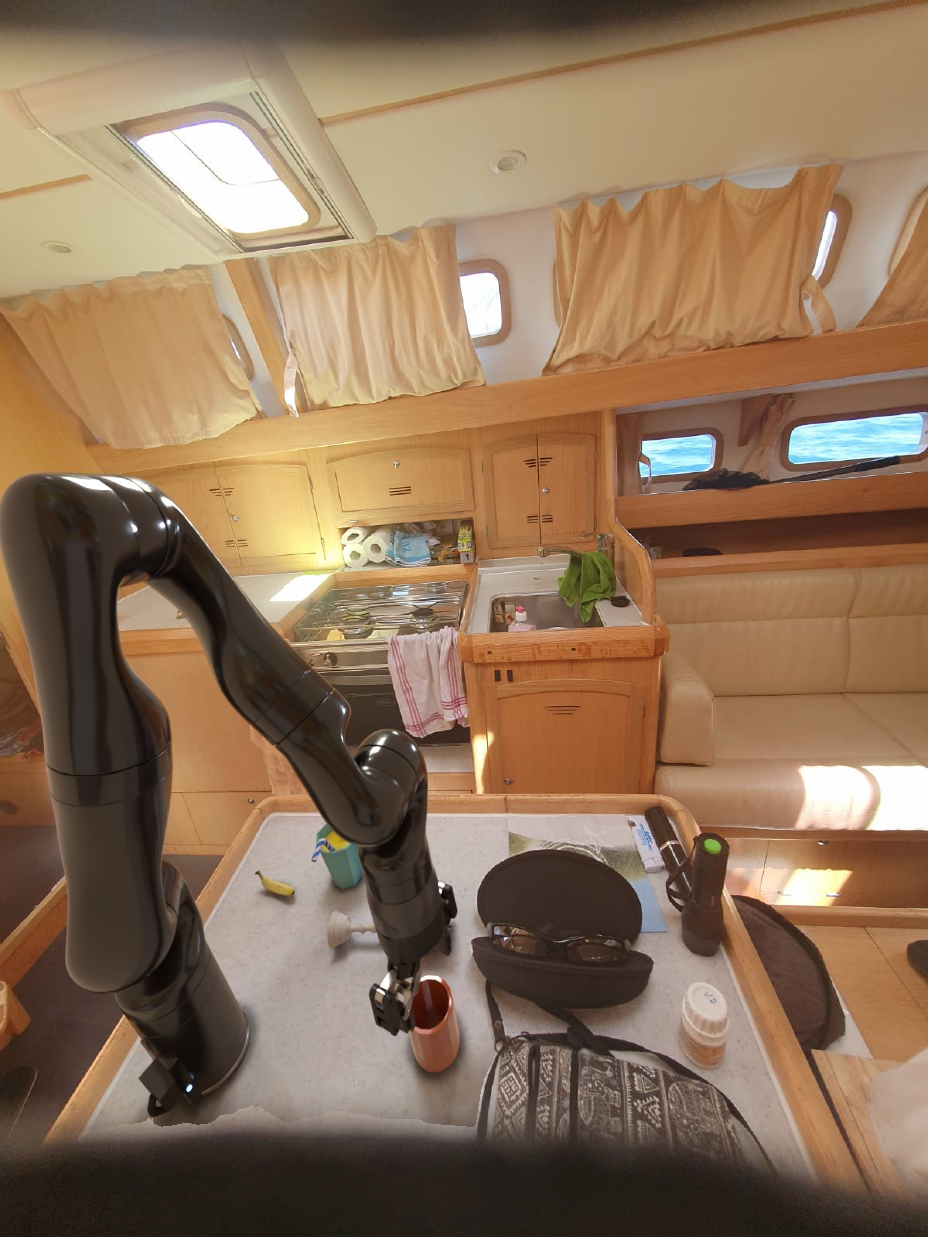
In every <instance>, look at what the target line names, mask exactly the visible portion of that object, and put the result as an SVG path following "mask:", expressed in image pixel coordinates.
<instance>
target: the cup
mask: <svg viewBox="0 0 928 1237" xmlns="http://www.w3.org/2000/svg"><path fill="white" fill-rule="evenodd" d="M357 850H358V846H355V845H353V844H351V843H348V842H346V841H345V840H343V839H342V838H340V837H339V836H338V835H336V834H335V833H334V832H333V831H332V829H331V828H330V827H329V826H328V825H327V824H326V823H325V824H324V825H323V826H322V827H321V829H320V830H318V831H317V833H316V836H315V849H314V852H313V854H312V857H311V862H313V863H316V862H317V861H318V858H319V856H320V855H321V858H322V860H323V861H324V864H325V866H326V868H327V870H328V872H329V875H330V877H331V879H332V880H333V883H334V885H335V886H336V887H339V888H340V889H343V890H345V889H348V888H352V887H355V886H356V885H357V884H358V883H359V881H360V880H361V879H362V878H363V875H362V872H361V868H360V864H359V860H358V853H357Z"/></svg>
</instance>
